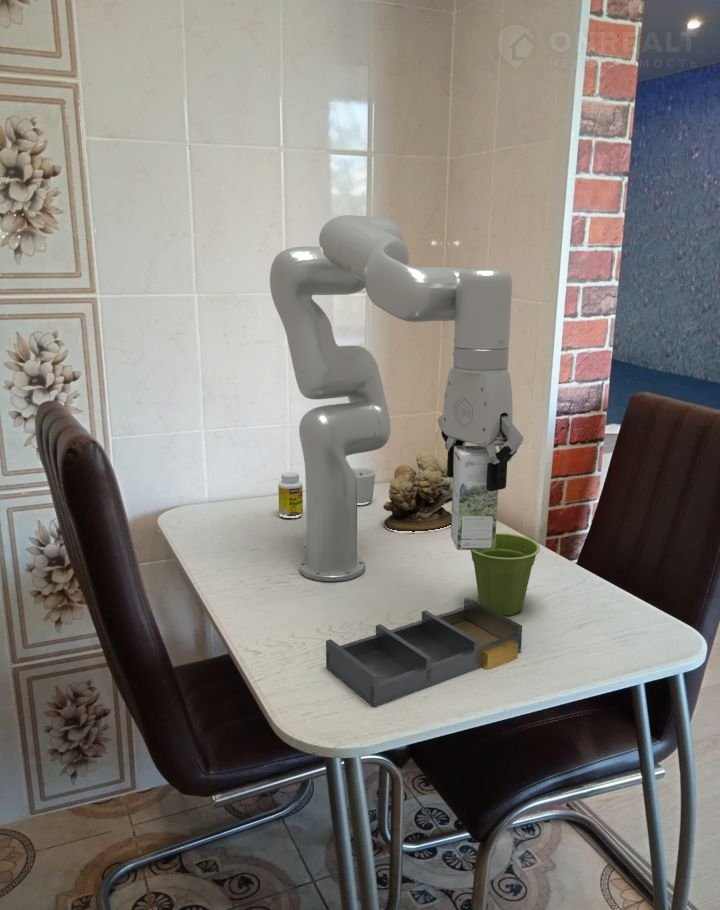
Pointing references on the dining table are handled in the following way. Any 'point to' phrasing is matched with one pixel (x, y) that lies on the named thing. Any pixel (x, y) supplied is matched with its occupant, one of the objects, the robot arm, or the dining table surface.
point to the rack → (424, 652)
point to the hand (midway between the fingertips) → (475, 481)
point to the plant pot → (504, 572)
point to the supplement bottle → (290, 494)
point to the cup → (364, 484)
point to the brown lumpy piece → (420, 496)
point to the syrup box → (472, 500)
